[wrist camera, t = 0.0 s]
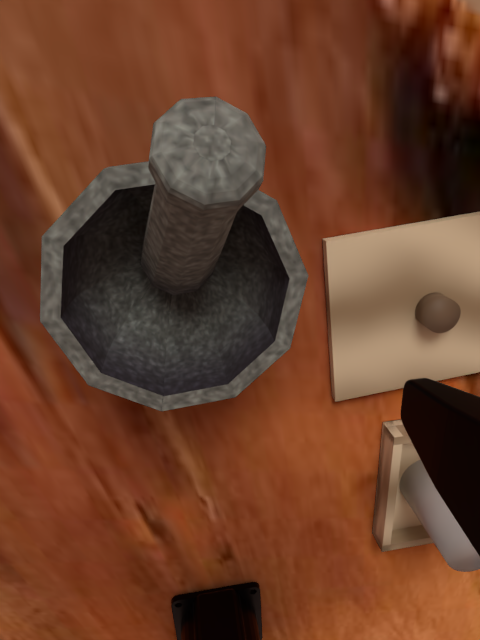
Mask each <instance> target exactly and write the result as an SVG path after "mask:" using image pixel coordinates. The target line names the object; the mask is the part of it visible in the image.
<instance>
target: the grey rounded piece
mask: <svg viewBox="0 0 480 640" xmlns="http://www.w3.org/2000/svg"><path fill="white" fill-rule="evenodd" d="M399 487H400V491H401V493H402V495H403V497H404V498H405V500H406V501H407V503H408V504H409V506H410V507H411V509H412V510H413V512H414V513H415V515H416V516H417V518H418V519H419V521H420V522H421V524H422V525H423V527H424V529H425V530H426V532H427V533H428V535H429V536H430V538H431V539H432V541H433V542H434V544H435V545H436V547H437V548H438V550H439V551H440V553H441V554H442V556H443V557H444V559H445V561H446V562H447V564H448V565H449V566H450V567H451V568H453V569H454V570H457V571H463V572H468V571H474V570H478V569H480V556H479V555H478V553H477V552H476V550H475V549H474V547H473V546H472V544H471V542H470V541H469V539H468V538H467V536H466V535H465V533H464V532H463V530H462V529H461V527H460V525H459V524H458V522H457V521H456V519H455V518H454V516H453V515H452V513H451V512H450V510H449V509H448V507H447V505H446V504H445V502H444V501H443V499H442V498H441V496H440V494H439V493H438V491H437V490H436V488H435V486H434V484H433V483H432V481H431V479H430V477H429V475H428V473H427V471H426V469H425V467H424V465H423V463H422V461H421V459H420V460H418V461H416V462H415V463H413V464H412V465H411V466H409V467H408V468H407V469H406V471H405V472H404V473H403V475H402V477H401V479H400V484H399Z"/></svg>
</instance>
